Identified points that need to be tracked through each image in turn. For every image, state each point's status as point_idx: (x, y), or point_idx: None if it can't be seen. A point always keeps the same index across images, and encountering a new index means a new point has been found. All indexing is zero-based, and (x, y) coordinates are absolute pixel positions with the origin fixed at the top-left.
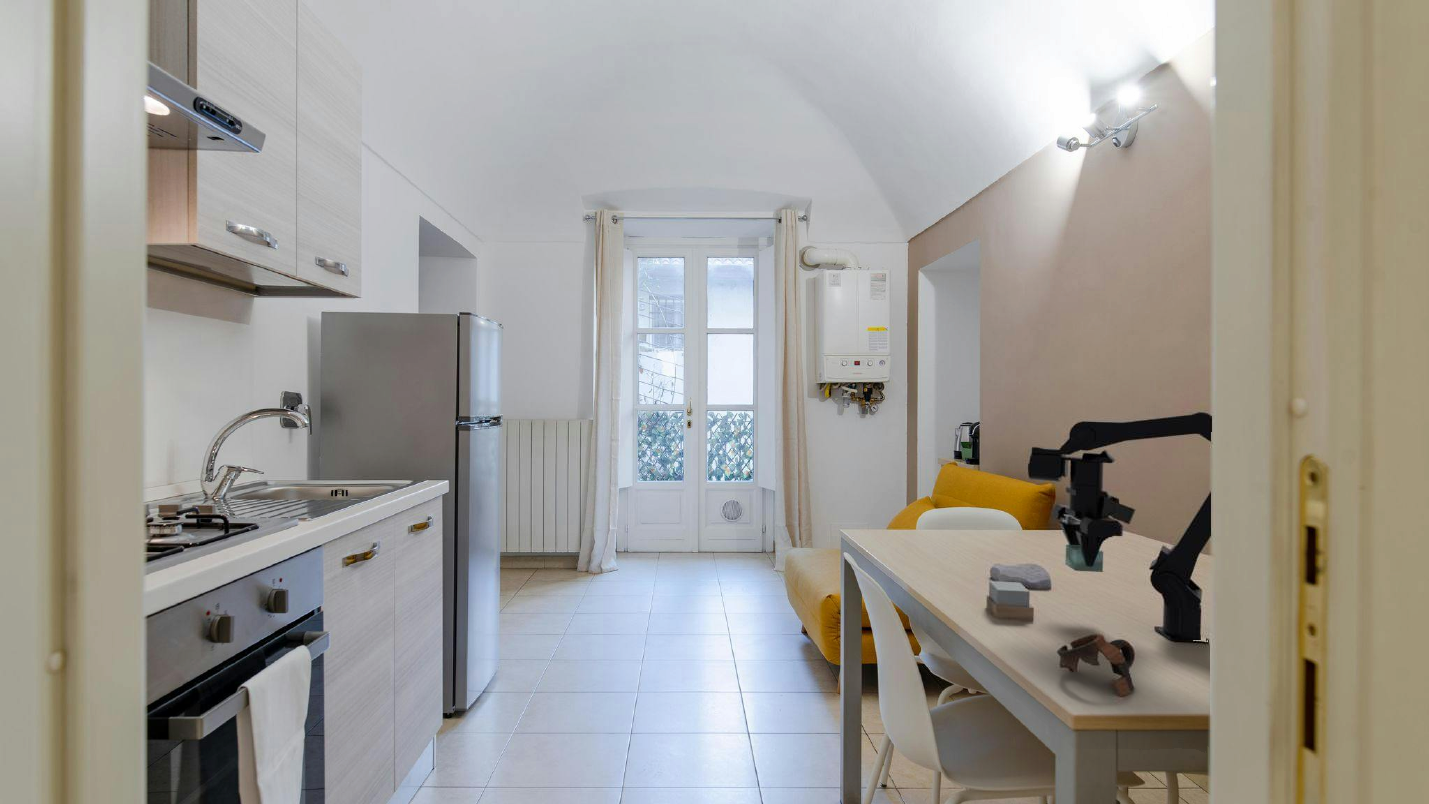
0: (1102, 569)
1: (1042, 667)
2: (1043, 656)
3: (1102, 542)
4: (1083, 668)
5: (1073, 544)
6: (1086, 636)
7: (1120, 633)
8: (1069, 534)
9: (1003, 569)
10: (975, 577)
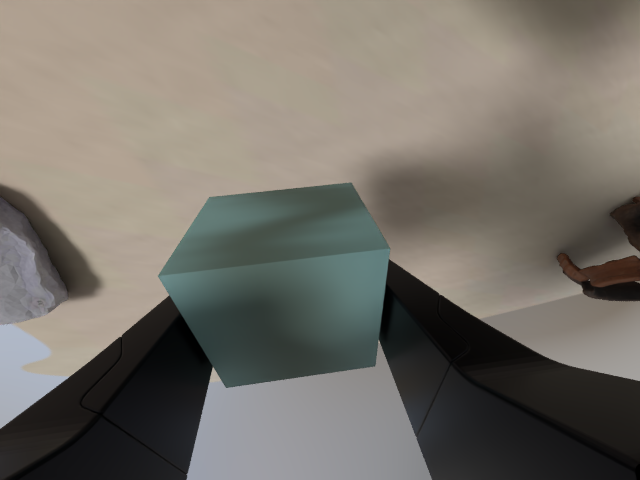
0: (353, 188)
1: (534, 284)
2: (500, 278)
3: (538, 354)
4: (555, 240)
5: (203, 366)
6: (636, 280)
7: (401, 107)
8: (179, 463)
9: (9, 316)
10: (38, 328)
